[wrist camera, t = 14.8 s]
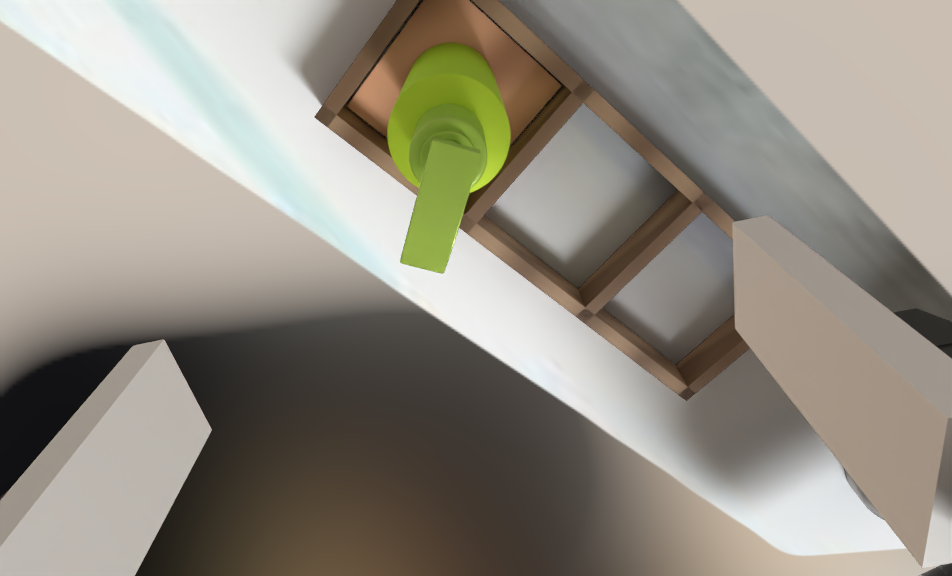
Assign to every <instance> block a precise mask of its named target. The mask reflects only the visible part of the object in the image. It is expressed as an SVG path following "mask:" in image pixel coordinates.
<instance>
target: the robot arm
mask: <svg viewBox="0 0 952 576" xmlns="http://www.w3.org/2000/svg"><path fill="white" fill-rule="evenodd" d="M732 228H733V268H734V308H735V329H736V330H737V332H738V333H739V334H740V336H741V337H742V338H743V339H744V341H745V342H746V343H747V344H748V346H749V347H750V348H751V350H752V351H753V352H754V353H755V355H756V356H757V357H758V359H759V360H760V361H761V362H762V364H763V365H764V366H765V368H766V369H767V370H768V371H769V373H770V374H771V375H772V376H773V378H774V379H775V380H776V382H777V383H778V384H779V385H780V387H781V388H782V389H783V391H784V392H785V393H786V394H787V396H788V397H789V398H790V400H791V401H792V402H793V403H794V405H795V406H796V407H797V408H798V410H799V411H800V412H801V414H802V415H803V416H804V417H805V419H806V420H807V421H808V423H809V424H810V425H811V426H812V428H813V429H814V430H815V431H816V433H817V434H818V435H819V437H820V438H821V439H822V440H823V442H824V443H825V444H826V446H827V447H828V448H829V449H830V451H831V452H832V453H833V455H834V456H835V457H836V458H837V460H838V461H839V462H840V463H841V465H842V466H843V467H844V469H845V470H846V476H847V479H848V482H849V484H850V486H851V488H852V489H853V490H854V492H855V493H856V494H857V495H858V497H859V498H860V499H861V501H862V502H863V503H864V504H865V506H866V507H867V508H868V509H869V510H870V511H871V512H873V513H874V514H875V515H877V516H878V517H880V518H882V519H883V520H885V521H886V522H887V524H888V525H889V526H890V527H891V529H892V530H893V531H894V533H895V534H896V535H897V536H898V538H899V539H900V540H901V542H902V543H903V544H904V545H905V547H906V548H907V549H908V550H909V552H910V553H911V554H912V556H913V557H914V558H915V559H916V561H917V562H918V563H919V565H920V566H921V567H922V568H925V567H931V566H937V565H940V566H938V567H936V568H934V569H932V570H930V571H928V572H925V573H923V574H921V575H919V576H952V323H951V322H950V321H948V320H945V319H942V318H940V317H937V316H934V315H932V314H929V313H927V312H924V311H921V310H919V309H911V310H906V311H901V312H895V313H893V312H891V311H890V310H889V309H887V308H886V307H885V306H884V305H882V304H881V303H880V302H879V301H877V300H876V299H875V298H873V297H872V296H871V295H870V294H868V293H867V292H866V291H864V290H863V289H862V288H861V287H859V286H858V285H857V284H855V283H854V282H853V281H852V280H850V279H849V278H848V277H847V276H845V275H844V274H843V273H841V272H840V271H839V270H838V269H836V268H835V267H834V266H832V265H831V264H830V263H829V262H827V261H826V260H825V259H824V258H822V257H821V256H820V255H818V254H817V253H816V252H815V251H813V250H812V249H811V248H809V247H808V246H807V245H806V244H804V243H803V242H802V241H800V240H799V239H798V238H797V237H795V236H794V235H793V234H792V233H790V232H789V231H788V230H786V229H785V228H784V227H783V226H781V225H780V224H779V223H777V222H776V221H775V220H774V219H772V218H771V217H770V216H768V215H766V216H761V217H756V218H751V219H746V220H741V221H737V222H732ZM210 432H211V428H210V426H209V424H208V422H207V420H206V418H205V416H204V414H203V413H202V411H201V409H200V407H199V405H198V403H197V401H196V399H195V398H194V396H193V394H192V392H191V390H190V388H189V386H188V384H187V382H186V380H185V378H184V377H183V375H182V373H181V371H180V369H179V367H178V365H177V363H176V361H175V359H174V358H173V356H172V354H171V352H170V350H169V348H168V346H167V344H166V342H165V340H159V341H154V342H149V343H145V344H140V345H135V346H133V347H132V348H131V349H130V350H129V351H128V352H127V354H126V355H125V356H124V357H123V358H122V359H121V361H120V362H119V363H118V364H117V365H116V366H115V368H114V369H113V370H112V371H111V372H110V373H109V375H108V376H107V377H106V378H105V379H104V380H103V382H102V383H101V384H100V385H99V386H98V387H97V388H96V390H95V391H94V392H93V393H92V394H91V395H90V397H89V398H88V399H87V400H86V401H85V402H84V404H83V405H82V406H81V407H80V408H79V409H78V411H77V412H76V413H75V414H74V415H73V416H72V418H71V419H70V420H69V421H68V422H67V424H66V425H65V426H64V427H63V428H62V429H61V431H60V432H59V433H58V434H57V435H56V436H55V437H54V439H53V440H52V441H51V442H50V443H49V445H48V446H47V447H46V448H45V449H44V450H43V452H41V454H40V455H39V456H38V457H37V458H36V460H35V461H34V462H33V463H32V464H31V465H30V466H29V468H28V469H27V470H26V471H25V472H24V473H23V475H22V476H21V477H20V478H19V479H18V480H17V482H16V483H15V484H14V485H13V486H12V487H11V489H10V490H8V491H7V492H6V493H5V494H4V495H2V496H1V497H0V576H135V574H136V572H137V570H138V568H139V566H140V564H141V563H142V561H143V559H144V557H145V555H146V553H147V551H148V549H149V547H150V546H151V544H152V542H153V540H154V538H155V536H156V534H157V532H158V531H159V528H160V527H161V525H162V523H163V521H164V519H165V517H166V515H167V514H168V512H169V510H170V508H171V506H172V504H173V502H174V500H175V498H176V497H177V495H178V493H179V491H180V489H181V487H182V485H183V483H184V481H185V480H186V478H187V476H188V474H189V472H190V470H191V468H192V466H193V464H194V463H195V461H196V459H197V457H198V455H199V453H200V451H201V449H202V448H203V445H204V444H205V442H206V440H207V438H208V436H209V434H210Z"/></svg>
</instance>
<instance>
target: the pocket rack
mask: <svg viewBox="0 0 952 576" xmlns="http://www.w3.org/2000/svg"><path fill="white" fill-rule="evenodd" d="M472 1H473V2H474V3H475V4H476V5H477V6H479V7H480V8H481V9H482V10H483V11H484V12H485V13H486V14H487V15H488V16H489V17H491V18H492V19H493V20H494V21H495V22H496V23H497V24H498V25H499V26H500V27H501V28H503V29H504V30H505V31H506V32H507V33H508V34H509V35H510V36H511V37H512V38H513V39H515V40H516V41H517V42H518V43H519V44H520V45H521V46H522V47H523V48H524V49H525V50H526V51H528V52H529V53H530V54H531V55H532V56H533V57H534V58H535V59H536V60H537V61H538V62H540V63H541V64H542V65H543V66H544V67H545V68H546V69H547V70H548V71H549V72H550V73H552V74H553V75H554V76H555V77H556V78H557V79H558V80H559V81H560V82H561V83H562V84H564V85H563V87H562V88H561V89H560V90H559V91H558V89H559V88H560V87H561V86H562V85H561V84H560V83H559V82H558V81H557V80H556V79H554V78H553V77H552V76H551V75H550V74H549V73H548V72H547V71H546V70H545V69H544V68H542V67H541V66H540V65H539V64H538V63H537V62H536V61H535V60H534V59H533V58H532V57H530V56H529V55H528V54H527V53H526V52H525V51H524V50H523V49H522V48H521V47H520V46H518V45H517V44H516V43H515V42H514V41H513V40H512V39H511V38H510V37H509V36H508V35H506V34H505V33H504V32H503V31H502V30H501V29H500V28H499V27H498V26H497V25H496V24H494V23H493V22H492V21H491V20H490V19H489V18H488V17H487V16H486V15H485V14H484V13H482V12H481V11H480V10H479V9H478V8H477V7H476V6H475V5H474V4H473V3H472V2H470V1H469V0H423V2H422V3H421V4H420V6H419V7H418V9H417V10H416V11H415V13H414V14H413V15H412V17H411V18H410V20H409V21H408V22H407V24H406V25H405V27H404V28H403V29H402V31H401V32H400V33H399V35H398V36H397V38H396V39H395V40H394V42H393V43H392V44H391V46H390V47H389V49H388V50H387V51H386V53H385V54H384V55H383V57H382V58H381V60H380V61H379V62H378V64H377V65H376V67H375V68H374V69H373V71H372V72H371V73H370V75H369V76H368V78H367V79H366V80H365V82H364V83H363V84H362V86H361V87H360V89H359V90H358V91H357V93H356V94H355V95H354V97H353V98H352V100H351V101H350V102H349V104H348V105H347V107H348V108H349V109H351V110H352V111H353V112H354V113H356V114H357V115H358V116H360V117H361V118H362V119H363V120H365V121H366V122H367V123H368V124H370V125H371V126H372V127H374V128H375V129H376V130H377V131H379V132H380V133H381V134H382V135H384V136H385V137H386V138H387V129H388V122H389V118H390V114H391V112H392V109H393V107H394V105H395V103H396V100H397V98H398V96H399V94H400V92H401V90H402V87H403V85H404V83H405V81H406V79H407V77H408V74H409V72H410V70H411V68H412V66H413V64H414V63H415V61H416V60H417V58H418V57H419V56H420V55H421V54H422V53H423V52H425V51H426V50H428V49H429V48H431V47H433V46H435V45H438V44H442V43H460V44H464V45H466V46H469V47H471V48H473V49H474V50H476V51H477V52H479V53H480V54H481V55H482V56H483V57H484V58H485V59H486V61H487V62H488V64H489V65H490V67H491V69H492V72H493V74H494V77H495V80H496V83H497V86H498V89H499V92H500V95H501V98H502V101H503V104H504V107H505V110H506V113H507V116H508V120H509V124H510V133H511V138H510V145H511V144H512V143H513V142H514V141H515V139H516V138H517V137H518V136H519V135H520V134H521V132H522V131H523V130H524V129H525V128H526V127H527V125H528V124H529V123H530V122H531V121H532V120H533V118H534V117H535V116H536V115H537V114H538V113H539V112H540V110H541V109H542V108H543V107H544V106H545V105H546V103H547V102H548V101H549V100H550V99H551V98H552V96H553V95H554V94H555V93H556V92H557V91H558V92H557V94H556V95H555V96H554V97H553V98H552V99H551V101H550V102H549V103H548V104H547V105H546V106H545V107H544V109H543V110H542V111H541V112H540V113H539V114H538V116H537V117H536V118H535V119H534V120H533V121H532V123H531V124H530V125H529V126H528V127H527V128H526V130H525V131H524V132H523V133H522V134H521V135H520V137H519V138H518V139H517V140H516V141H515V142H514V144H513V145H512V146H511V147H510V148H509V151H508V155H507V158H506V160H505V162H504V164H503V166H502V168H501V169H500V171H499V172H498V173H497V175H496V176H495V177H494V178H493V179H492V180H491V181H490V182H489V183H487V184H486V185H485V186H483V187H482V188H480V189H478V190H476V191H474V192H471V194H470V195H469V196H468V199H467V203H466V206H465V209H464V213H463V216H462V219H461V223H460V226H459V228H460V229H462V230H463V231H464V232H466V233H467V234H468V235H469V236H471V237H472V238H473V239H475V240H476V241H477V242H479V243H480V244H481V245H483V246H484V247H485V248H487V249H488V250H489V251H490V252H492V253H493V254H494V255H496V256H497V257H498V258H500V259H501V260H502V261H504V262H505V263H506V264H507V265H509V266H510V267H511V268H513V269H514V270H515V271H517V272H518V273H519V274H521V275H522V276H523V277H525V278H526V279H527V280H528V281H530V282H531V283H532V284H534V285H535V286H536V287H538V288H539V289H540V290H542V291H543V292H544V293H546V294H547V295H548V296H549V297H551V298H552V299H553V300H555V301H556V302H557V303H559V304H560V305H561V306H563V307H564V308H565V309H567V310H568V311H569V312H570V313H572V314H573V315H574V316H576V317H577V318H578V319H580V320H581V321H582V322H584V323H585V324H586V325H588V326H589V327H590V328H591V329H593V330H594V331H595V332H597V333H598V334H599V335H601V336H602V337H603V338H605V339H606V340H607V341H608V342H610V343H611V344H612V345H614V346H615V347H616V348H618V349H619V350H620V351H622V352H623V353H624V354H626V355H627V356H628V357H629V358H631V359H632V360H633V361H635V362H636V363H637V364H639V365H640V366H641V367H643V368H644V369H645V370H647V371H648V372H649V373H650V374H652V375H653V376H654V377H656V378H657V379H658V380H660V381H661V382H662V383H664V384H665V385H666V386H668V387H669V388H670V389H671V390H673V391H674V392H675V393H677V394H678V395H679V396H681V397H682V398H683V399H685V400H686V401H687V400H688V399H689V398H691V397H692V396H693V395H694V394H695V393H697V392H698V391H699V390H700V389H701V388H703V387H704V386H705V385H706V384H707V383H709V382H710V381H711V380H712V379H713V378H715V377H716V376H717V375H718V374H719V373H721V372H722V371H723V370H724V369H725V368H726V367H728V366H729V365H730V364H731V363H732V362H734V361H735V360H736V359H737V358H738V357H740V356H741V355H742V354H743V353H744V352H746V351H747V350H748V349H749V348H750V347H749V346H748V344H747V343H746V342H745V341H744V339H743V338H742V337H741V336H740V334H739V333H738V332H737V330H736V329H735V314H734V315H733V316H732V317H731V318H730V319H729V320H728V321H726V322H725V323H724V324H723V325H722V326H721V327H719V328H718V329H717V330H716V331H715V332H714V333H713V334H711V335H710V336H709V337H708V338H707V339H706V340H705V341H703V342H702V343H701V344H700V345H699V346H698V347H696V348H695V349H694V350H693V351H692V352H691V353H690V354H688V355H687V356H686V357H685V358H684V359H683V360H681V361H680V362H679V363H678V364H677V365H675V364H673V363H672V362H671V361H669V360H668V359H667V358H666V357H664V356H663V355H662V354H660V353H659V352H658V351H657V350H655V349H654V348H653V347H652V346H650V345H649V344H648V343H646V342H645V341H644V340H643V339H641V338H640V337H639V336H638V335H636V334H635V333H634V332H632V331H631V330H630V329H629V328H627V327H626V326H625V325H623V324H622V323H621V322H620V321H618V320H617V319H616V318H615V317H613V316H612V315H611V314H609V313H608V312H607V311H606V310H604V309H603V308H602V307H603V306H605V305H606V304H607V303H608V302H609V301H610V300H611V299H612V298H613V297H614V296H615V295H616V294H617V293H618V292H619V291H620V290H621V289H622V288H623V287H624V286H625V285H626V284H627V283H628V282H629V281H631V280H632V279H633V278H634V277H635V276H636V275H637V274H638V273H639V272H640V271H641V270H642V269H643V268H644V267H645V266H646V265H647V264H648V263H649V262H650V261H651V260H652V259H653V258H654V257H656V256H657V255H658V254H659V253H660V252H661V251H662V250H663V249H664V248H665V247H666V246H667V245H668V244H669V243H670V242H671V241H672V240H673V239H674V238H675V237H676V236H677V235H678V234H679V233H681V232H682V231H683V230H684V229H685V228H686V227H687V226H688V225H689V224H690V223H691V222H692V221H693V220H694V219H695V218H696V217H697V216H698V215H699V214H700V213H701V212H703V213H704V214H705V215H706V216H707V217H708V218H709V219H711V220H712V221H713V222H714V223H715V224H716V225H717V226H718V227H719V228H720V229H721V230H723V231H724V232H725V233H726V234H727V235H728V236H729V237H730V238H731V239H732V240H733V228H732V222H735V221H734V220H733V219H732V218H731V217H730V216H729V215H728V214H727V213H726V212H724V211H723V210H722V209H721V208H720V207H719V206H718V205H717V204H716V203H715V202H714V201H713V200H712V199H711V198H709V197H708V196H707V195H706V194H705V193H704V192H703V191H702V190H701V189H700V188H699V187H698V186H697V185H696V184H695V183H693V182H692V181H691V180H690V179H689V178H688V177H687V176H686V175H685V174H684V173H683V172H682V171H681V170H680V169H678V168H677V167H676V166H675V165H674V164H673V163H672V162H671V161H670V160H669V159H668V158H667V157H666V156H665V155H663V154H662V153H661V152H660V151H659V150H658V149H657V148H656V147H655V146H654V145H653V144H652V143H651V142H650V141H648V140H647V139H646V138H645V137H644V136H643V135H642V134H641V133H640V132H639V131H638V130H637V129H636V128H635V127H634V126H632V125H631V124H630V123H629V122H628V121H627V120H626V119H625V118H624V117H623V116H622V115H621V114H620V113H619V112H617V111H616V110H615V109H614V108H613V107H612V106H611V105H610V104H609V103H608V102H607V101H606V100H605V99H604V98H602V97H601V96H600V95H599V94H598V93H597V92H596V91H595V90H594V89H593V88H592V87H591V86H590V85H589V84H587V83H586V82H585V81H584V80H583V79H582V78H581V77H580V76H579V75H578V74H577V73H576V72H575V71H574V70H573V69H571V68H570V67H569V66H568V65H567V64H566V63H565V62H564V61H563V60H562V59H561V58H560V57H559V56H558V55H556V54H555V53H554V52H553V51H552V50H551V49H550V48H549V47H548V46H547V45H546V44H545V43H544V42H543V41H541V40H540V39H539V38H538V37H537V36H536V35H535V34H534V33H533V32H532V31H531V30H530V29H529V28H528V27H526V26H525V25H524V24H523V23H522V22H521V21H520V20H519V19H518V18H517V17H516V16H515V15H514V14H513V13H511V12H510V11H509V10H508V9H507V8H506V7H505V6H504V5H503V4H502V3H501V2H500V1H499V0H472ZM419 2H420V0H397V1H396V3H395V4H394V5H393V7H392V8H391V10H390V11H389V12H388V14H387V15H386V17H385V18H384V20H383V21H382V22H381V24H380V25H379V27H378V28H377V29H376V31H375V32H374V34H373V35H372V36H371V38H370V39H369V41H368V42H367V44H366V45H365V46H364V48H363V49H362V51H361V52H360V53H359V55H358V56H357V58H356V59H355V60H354V62H353V63H352V65H351V66H350V68H349V69H348V70H347V72H346V73H345V75H344V76H343V77H342V79H341V80H340V82H339V83H338V84H337V86H336V87H335V89H334V90H333V92H332V93H331V94H330V96H329V97H328V99H327V100H326V101H325V103H324V104H323V106H322V107H321V108H320V110H319V111H318V113H317V114H316V116H315V118H316V119H317V120H319V121H320V122H321V123H323V124H324V125H325V126H326V127H328V128H329V129H330V130H332V131H333V132H334V133H336V134H337V135H338V136H340V137H341V138H342V139H344V140H345V141H346V142H347V143H349V144H350V145H351V146H353V147H354V148H355V149H357V150H358V151H359V152H361V153H362V154H363V155H365V156H366V157H367V158H368V159H370V160H371V161H372V162H374V163H375V164H376V165H378V166H379V167H380V168H382V169H383V170H384V171H385V172H387V173H388V174H389V175H391V176H392V177H393V178H395V179H396V180H397V181H399V182H400V183H401V184H403V185H404V186H405V187H406V188H408V189H409V190H410V191H412V192H413V193H414V194H416V195H417V194H418V190H419V188H418V187H416V186H415V185H413V184H412V183H411V182H409V181H408V180H407V179H406V178H405V177H404V176H403V175H402V173H401V172H400V171H399V170H398V168H397V166H396V165H395V163H394V161H393V159H392V156H391V154H390V150H389V146H388V140H387V139H386V138H385V137H383V136H382V135H381V134H380V133H378V132H377V131H376V130H374V129H373V128H372V127H371V126H369V125H368V124H367V123H365V122H364V121H363V120H362V119H360V118H359V117H358V116H357V115H355V114H354V113H353V112H351V111H350V110H349V109H348V108H346V107H345V106H344V105H345V104H346V103H347V101H348V100H349V98H350V97H351V96H352V94H353V93H354V92H355V90H356V89H357V87H358V86H359V85H360V83H361V82H362V80H363V79H364V78H365V76H366V75H367V74H368V72H369V71H370V69H371V68H372V67H373V65H374V64H375V62H376V61H377V60H378V58H379V57H380V56H381V54H382V53H383V51H384V50H385V49H386V47H387V46H388V44H389V43H390V42H391V40H392V39H393V38H394V36H395V35H396V33H397V32H398V31H399V29H400V28H401V27H402V25H403V24H404V22H405V21H406V20H407V18H408V17H409V15H410V14H411V13H412V11H413V10H414V9H415V7H416V6H417V4H418V3H419ZM583 103H584V104H585V105H586V106H587V107H589V108H590V109H591V110H592V111H593V112H594V113H595V114H596V115H597V116H598V117H599V118H601V119H602V120H603V121H604V122H605V123H606V124H607V125H608V126H609V127H610V128H611V129H613V130H614V131H615V132H616V133H617V134H618V135H619V136H620V137H621V138H622V139H623V140H625V141H626V142H627V143H628V144H629V145H630V146H631V147H632V148H633V149H634V150H635V151H637V152H638V153H639V154H640V155H641V156H642V157H643V158H644V159H645V160H646V161H647V162H648V163H650V164H651V165H652V166H653V167H654V168H655V169H656V170H657V171H658V172H659V173H660V174H662V175H663V176H664V177H665V178H666V179H667V180H668V181H669V182H670V183H671V184H672V185H674V186H675V187H676V188H677V189H678V190H677V191H676V192H675V193H674V194H673V195H672V196H671V197H670V198H669V199H668V200H667V201H666V202H665V203H664V204H663V205H662V206H661V207H660V208H659V209H658V210H657V211H656V212H655V213H654V214H653V215H652V216H651V217H650V218H649V219H648V220H647V221H646V222H645V223H644V224H643V225H642V226H641V227H640V228H639V229H638V230H637V231H636V232H635V233H634V234H633V235H632V236H631V237H630V238H629V239H628V240H627V241H626V242H625V243H624V244H623V245H622V246H621V247H620V248H619V249H618V250H617V251H616V252H615V253H614V254H613V255H612V256H611V257H610V258H609V259H608V260H607V261H606V262H605V263H604V264H603V265H602V266H601V267H600V268H599V269H598V270H597V271H596V272H595V273H594V274H593V275H592V276H591V277H590V278H589V279H588V280H587V281H586V282H585V283H584V284H583V285H582V286H581V287H580V288H579V289H577V288H576V287H575V286H574V285H572V284H571V283H570V282H569V281H567V280H566V279H565V278H563V277H562V276H561V275H560V274H558V273H557V272H556V271H554V270H553V269H552V268H551V267H549V266H548V265H547V264H546V263H544V262H543V261H542V260H540V259H539V258H538V257H537V256H535V255H534V254H533V253H532V252H530V251H529V250H528V249H526V248H525V247H524V246H523V245H521V244H520V243H519V242H517V241H516V240H515V239H514V238H512V237H511V236H510V235H509V234H507V233H506V232H505V231H503V230H502V229H501V228H500V227H498V226H497V225H496V224H494V223H493V222H492V221H491V220H489V219H488V218H487V217H486V216H484V214H485V213H486V212H487V211H488V210H489V209H490V208H491V207H492V205H493V204H494V203H495V202H496V201H497V200H498V199H499V197H500V196H501V195H502V194H503V193H504V192H505V191H506V190H507V188H508V187H509V186H510V185H511V184H512V183H513V182H514V180H515V179H516V178H517V177H518V176H519V175H520V174H521V173H522V171H523V170H524V169H525V168H526V167H527V166H528V165H529V163H530V162H531V161H532V160H533V159H534V158H535V157H536V156H537V154H538V153H539V152H540V151H541V150H542V149H543V148H544V147H545V145H546V144H547V143H548V142H549V141H550V140H551V139H552V137H553V136H554V135H555V134H556V133H557V132H558V131H559V130H560V128H561V127H562V126H563V125H564V124H565V123H566V122H567V120H568V119H569V118H570V117H571V116H572V115H573V114H574V113H575V111H576V110H577V109H578V108H579V107H580V106H581V105H582V104H583Z"/></svg>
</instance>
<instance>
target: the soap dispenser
mask: <svg viewBox="0 0 952 576" xmlns="http://www.w3.org/2000/svg"><path fill="white" fill-rule="evenodd" d="M510 138H511V133H510V124H509V120H508V116H507V113H506V110H505V107H504V104H503V101H502V98H501V95H500V92H499V89H498V86H497V83H496V80H495V77H494V74H493V72H492V69H491V67H490V65H489V64H488V62H487V61H486V59H485V58H484V57H483V56H482V55H481V54H480V53H479V52H477V51H476V50H474V49H473V48H471V47H469V46H466V45H464V44H460V43H442V44H438V45H435V46H433V47H431V48H429V49H428V50H426V51H425V52H423V53H422V54H421V55H420V56H419V57H418V58H417V60H416V61H415V63H414V64H413V66H412V68H411V70H410V72H409V74H408V77H407V79H406V81H405V83H404V85H403V87H402V90H401V92H400V94H399V96H398V98H397V100H396V103H395V105H394V107H393V109H392V112H391V114H390V118H389V122H388V129H387V139H388V146H389V150H390V154H391V156H392V159H393V161H394V163H395V165H396V166H397V168H398V170H399V171H400V172H401V173H402V175H403V176H404V177H405V178H406V179H407V180H408V181H409V182H411V183H412V184H413V185H415V186H416V187H418V188H419V190H418V194H417V198H416V202H415V205H414V209H413V213H412V217H411V221H410V225H409V228H408V232H407V236H406V240H405V244H404V247H403V251H402V256H401V260H400V263H402V264H406V265H410V266H414V267H417V268H421V269H425V270H429V271H434V272H438V273H444V271H445V268H446V266H447V263H448V260H449V257H450V254H451V251H452V248H453V245H454V242H455V239H456V236H457V232H458V229H459V226H460V223H461V219H462V216H463V213H464V209H465V206H466V203H467V199H468V196H469V193H471V192H474V191H476V190H478V189H480V188H482V187H483V186H485V185H486V184H487V183H489V182H490V181H491V180H492V179H493V178H494V177H495V176H496V175H497V173H498V172H499V171H500V169H501V168H502V166H503V164H504V162H505V160H506V158H507V155H508V151H509V147H510Z"/></svg>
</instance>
